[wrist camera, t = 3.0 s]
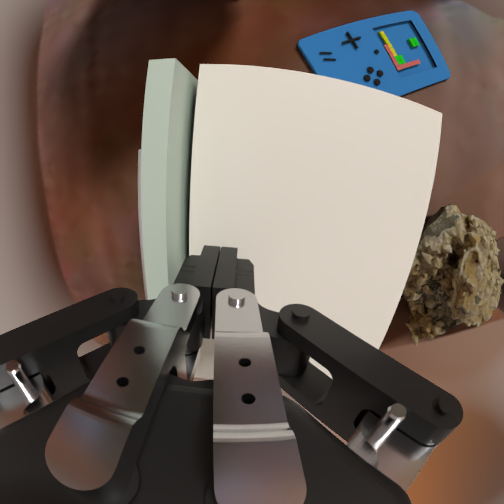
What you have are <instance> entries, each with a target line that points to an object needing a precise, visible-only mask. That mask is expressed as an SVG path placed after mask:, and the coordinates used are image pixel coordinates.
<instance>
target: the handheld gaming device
mask: <svg viewBox="0 0 504 504" xmlns="http://www.w3.org/2000/svg"><path fill="white" fill-rule="evenodd" d="M298 48H299V50H300V51H301V53H302V54H303V56H304V57H305V59H306V60H307V62H308V63H309V65H310V67H311V68H312V70H313V71H314V73H315V74H316V75H321V76H326V77H331V78H335V79H340V80H344V81H348V82H352V83H356V84H360V85H363V86H367V87H370V88H374V89H377V90H381V91H384V92H387V93H390V94H393V95H396V96H402V95H405V94H407V93H410V92H412V91H415V90H418V89H420V88H423V87H426V86H429V85H431V84H434V83H437V82H440V81H443V80H446V79H449V78H450V71H449V69H448V67H447V65H446V63H445V60H444V58H443V56H442V54H441V52H440V50H439V48H438V47H437V45H436V43H435V41H434V39H433V37H432V36H431V34H430V32H429V30H428V29H427V27H426V25H425V24H424V22H423V20H422V19H421V17H420V16H419V14H418V13H416V12H415V11H405V12H399V13H393V14H388V15H383V16H378V17H374V18H369V19H365V20H361V21H357V22H353V23H350V24H346V25H343V26H339V27H336V28H333V29H329V30H326V31H323V32H320V33H317V34H315V35H312V36H309V37H306V38H303V39H301V40H300V41H299V42H298Z"/></svg>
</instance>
